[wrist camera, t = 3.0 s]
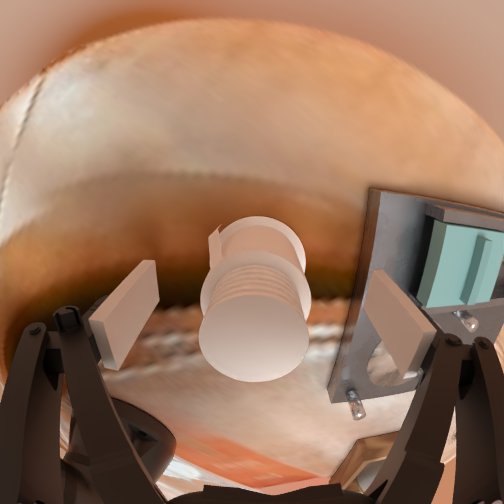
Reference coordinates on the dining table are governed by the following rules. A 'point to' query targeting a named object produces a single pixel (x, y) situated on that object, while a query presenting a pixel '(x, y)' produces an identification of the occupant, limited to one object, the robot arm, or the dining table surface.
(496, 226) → the housing board
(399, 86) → the dining table surface
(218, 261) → the downlight
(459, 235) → the cover
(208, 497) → the robot arm
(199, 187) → the dining table surface
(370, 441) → the wooden caddy
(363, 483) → the ceramic mug
